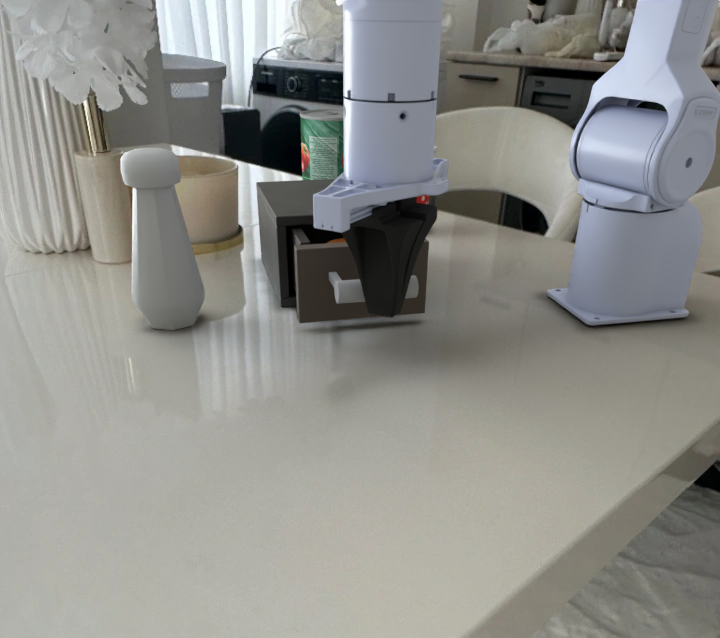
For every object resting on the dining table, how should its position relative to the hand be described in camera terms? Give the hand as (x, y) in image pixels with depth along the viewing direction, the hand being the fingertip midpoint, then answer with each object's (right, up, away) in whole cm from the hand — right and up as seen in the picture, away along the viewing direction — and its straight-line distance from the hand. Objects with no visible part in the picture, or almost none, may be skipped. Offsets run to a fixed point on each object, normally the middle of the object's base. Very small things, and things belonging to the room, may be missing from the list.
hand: (384, 312), depth 51 cm
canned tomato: (-5, +23, +41) cm, 47 cm away
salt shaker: (-17, +1, +8) cm, 19 cm away
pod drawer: (-2, +3, +10) cm, 10 cm away
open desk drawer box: (-5, +7, +18) cm, 20 cm away
